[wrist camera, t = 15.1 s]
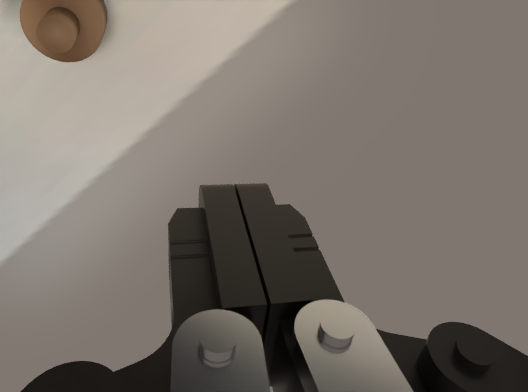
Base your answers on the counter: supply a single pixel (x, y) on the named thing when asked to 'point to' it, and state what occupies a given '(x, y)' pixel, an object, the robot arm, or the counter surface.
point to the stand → (64, 27)
